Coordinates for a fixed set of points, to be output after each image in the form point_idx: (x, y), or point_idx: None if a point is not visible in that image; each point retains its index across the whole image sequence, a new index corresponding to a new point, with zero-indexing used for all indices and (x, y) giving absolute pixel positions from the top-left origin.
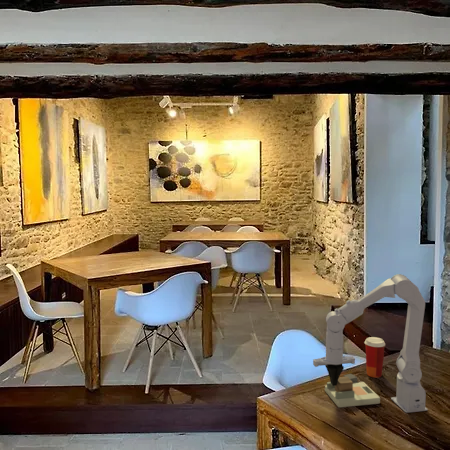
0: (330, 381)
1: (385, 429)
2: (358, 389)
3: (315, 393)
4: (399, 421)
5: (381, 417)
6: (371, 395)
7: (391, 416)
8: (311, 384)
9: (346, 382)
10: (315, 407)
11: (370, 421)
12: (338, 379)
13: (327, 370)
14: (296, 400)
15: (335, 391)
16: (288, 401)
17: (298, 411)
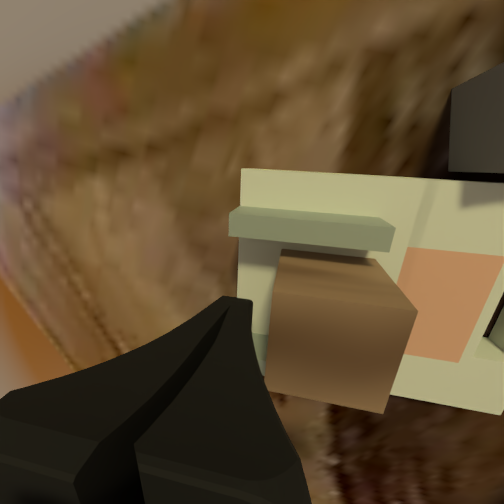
0: (215, 301)
1: (331, 493)
2: (452, 293)
3: (181, 187)
4: (425, 492)
5: (376, 452)
6: (470, 379)
7: (424, 464)
8: (194, 44)
9: (322, 397)
10: (144, 310)
11: (312, 451)
12: (283, 334)
13: (126, 359)
14: (73, 231)
15: (272, 270)
16: (39, 229)
17: (74, 313)
